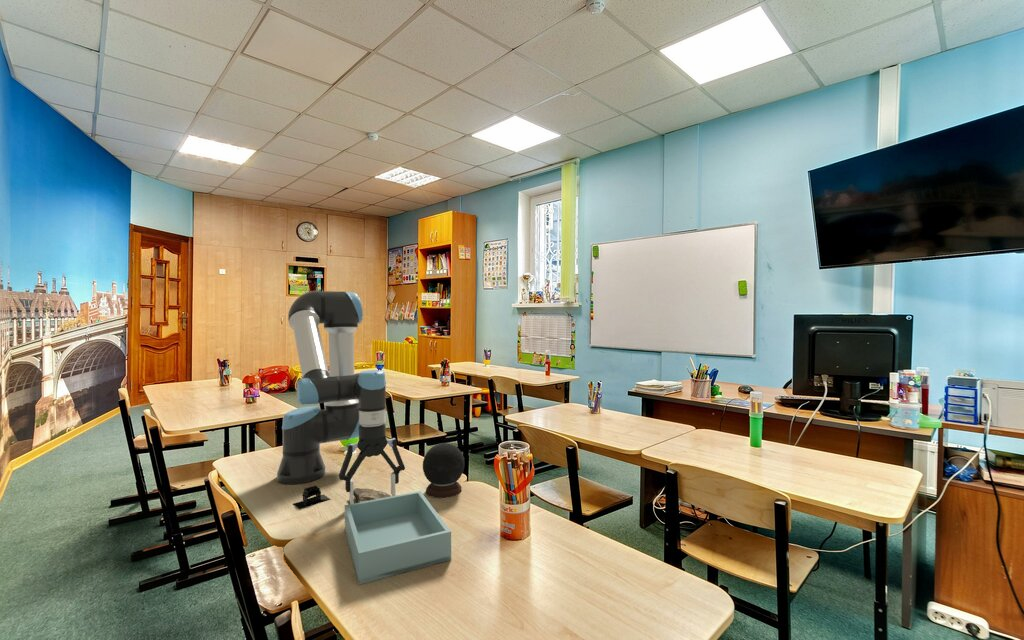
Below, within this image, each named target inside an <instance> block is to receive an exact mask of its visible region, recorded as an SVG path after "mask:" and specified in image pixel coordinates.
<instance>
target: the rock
mask: <svg viewBox="0 0 1024 640" xmlns="http://www.w3.org/2000/svg"><path fill="white" fill-rule="evenodd" d="M391 496H392V495H391V494H388V493H387V492H385V491H383V490H382V491H381V490H375V489H373V488H359V487H353V498H354V499H355V500H354V501H355V503H359V502H365V501H370V500H375V499H381V498H386V497H391Z"/></svg>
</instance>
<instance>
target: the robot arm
mask: <svg viewBox="0 0 1024 640" xmlns="http://www.w3.org/2000/svg"><path fill="white" fill-rule="evenodd" d="M363 316H364V310H363V304H362V301H361V298H360V296H359V295H358V294H357V293H355V292H353V291H352V292H351V291H330V290H329V291H326V290H325V291H324V290H323V291H321V290H311V291H308V292H305V293H303V294H301V295H300V296H298V297H297V298H296V299H295V300H294V301H293V302H292V304H291V306H290V308H289V311H288V315H287V320H288V325H289V327H290V328H291V329H292V330H293V334H294V340H295V345H296V352H297V355H298V356H297V357H298V361H299V367H300V372H301V377H302V378H300V379H298V380H297V382H296V400H297V402H298V403H299V404H300V405H312V406H302V407H300V408H299V407H298V408H295V409H292V410H289V411H288V412H286V413H285V414H284V415H283V417H282V426H281V430H282V457H281V461H280V463H279V466H278V469H277V473H276V481H277V482H278V483H280V484H284V485H285V484H286V485H287V484H288V485H296V484H304V483H309V482H312V481H316V480H318V479H321V478H322V477H323V476H325V475H326V465H325V461H324V459H323V457H322V454H321V450H320V448H321V447H320V446H321V444H325V443H332V442H338V441H345V440H346V441H349V440H351V439H356V438H358V441H357V443H350V442H349V443H347V445H346V448H347V449H346V454H345V456H344V460H343V462H342V465H341V467H340V471H339V473H338V478H339V481H345V491H346V493H349V502H350V503H349V504H354V503H355V502H354V501H355V500H354V499H355V498H354V495H353V489H354V479H353V478H354V475H355V474H356V472H357V471H358V469H359V467H360V466H361V464H362V462H363V461H365V459H366V457H367V458H371V457H373V456H374V457H378V456H380V455H381V456H382V458H383V459H384V460H385V461H386V463H387V464H388V466H390V468H391V469H392V471H390V495H391V496H396V485H397V484H399V480H400V479H399V478H400V475H399V474H400V472H402V471H405V469H406V467H405V464H404V461H403V459H402V456H401V454H400V451H399V449H398V440H397V439H396V437H392V438H391V439H389V438H388V439H387V437H386V436H387V433H386V432H387V431H386V430H387V429H386V428H387V426H386V423H385V422H386V419H387V418H386V416H387V415H386V393H387V392H386V391H387V390H386V386H387V385H386V384H387V381H386V373H385V371H383V370H375V369H373V370H372V369H371V370H364V371H363V370H362V371H360V372H357V373H355V348H354V347H355V344H354V343H355V341H354V337H355V336H354V333H355V331H357V329H358V328H359V327H358V325H359V324H360V323H362V322H363V318H364V317H363ZM320 324H321V325H322V324H323V329H324V330H325V331H326V333H328V363H327V358H326V354H325V349H324V346H323V341H322V338H321V332H320V328H319V325H320ZM324 403H325V404H324ZM317 404H324V407H325V408H324V409H320V407H319V406H318V405H317ZM387 445H388V446H389V447H390V448H391V449H392V452H393V454H394V455H393V456H394V457H395V459H396V463H397V464H398V466H396V464H395V463H394V462H393V460H392V459H391V458H390V456H389V455H388V454H387V452H386V451H385V450H384V449H385V448H386V447H387ZM357 448H358V450H359V452H358V455H357V456H356V459H354V462H353V464H352V465H351V467H350V469H348V468H349V465H350V462H351V461H352V457H353V453H354V452H355V451H356V449H357Z"/></svg>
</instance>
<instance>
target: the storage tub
mask: <svg viewBox="0 0 1024 640" xmlns="http://www.w3.org/2000/svg"><path fill="white" fill-rule="evenodd" d="M390 496H391V497H386V498H381V499H375V500H370V501H365V502H359V503H356V502H354V504H350V503H349V504H344V532H346V533H345V536H347V537H346V540H347V539H348V541H347V544H348V548H349V552H350V555H351V559H352V563H354V564H353V567H354V571H355V574H356V579H357V582H358V585H362V584H366V583H371V582H374V581H378V580H382V579H385V578H389V577H392V576H397V575H400V574H404V573H408V572H410V571H411V572H412V571H415V570H419V569H423V568H427V567H430V566H434V565H437V564H442V563H445V562H450V561H452V531H451V529H450V528H449V526H448V525H447V524H446V522H445V521H444V520H443V518H442V517H441V516H440V515H439V513H438V512H437V511H436V509H435V508H434V507H433V506H432V504H431V503H430V501H429V500H428V499H427V497H426V496H425V495H424V493H422V491H421V490H419V491H418V490H417V491H414V492H408V493H403V494H398V495H395V496H392V495H390Z"/></svg>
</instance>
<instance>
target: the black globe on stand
mask: <svg viewBox="0 0 1024 640" xmlns="http://www.w3.org/2000/svg"><path fill="white" fill-rule="evenodd" d="M464 470H465V458H464V455H463V453H462V452H461V450H460V449H459V447H458V446H456V445H455V444H452V443H449V442H448V443H447V442H440V443H437V444H435V445H433V446H432V447H430V449H428V450H427V452H426V453H425V455H424V457H423V459H422V472H423V474H424V476H425V478H426V480H427V481H428V482H429V484H428V486H427V487H425V493H426V495H427V496H429V497H431V498H433V499H446V498H452V497H455V496H458V495H459V494H461V493H462V485H461V484H460V482H458V480H459V479H461V476H462V475H463V473H464Z"/></svg>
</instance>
